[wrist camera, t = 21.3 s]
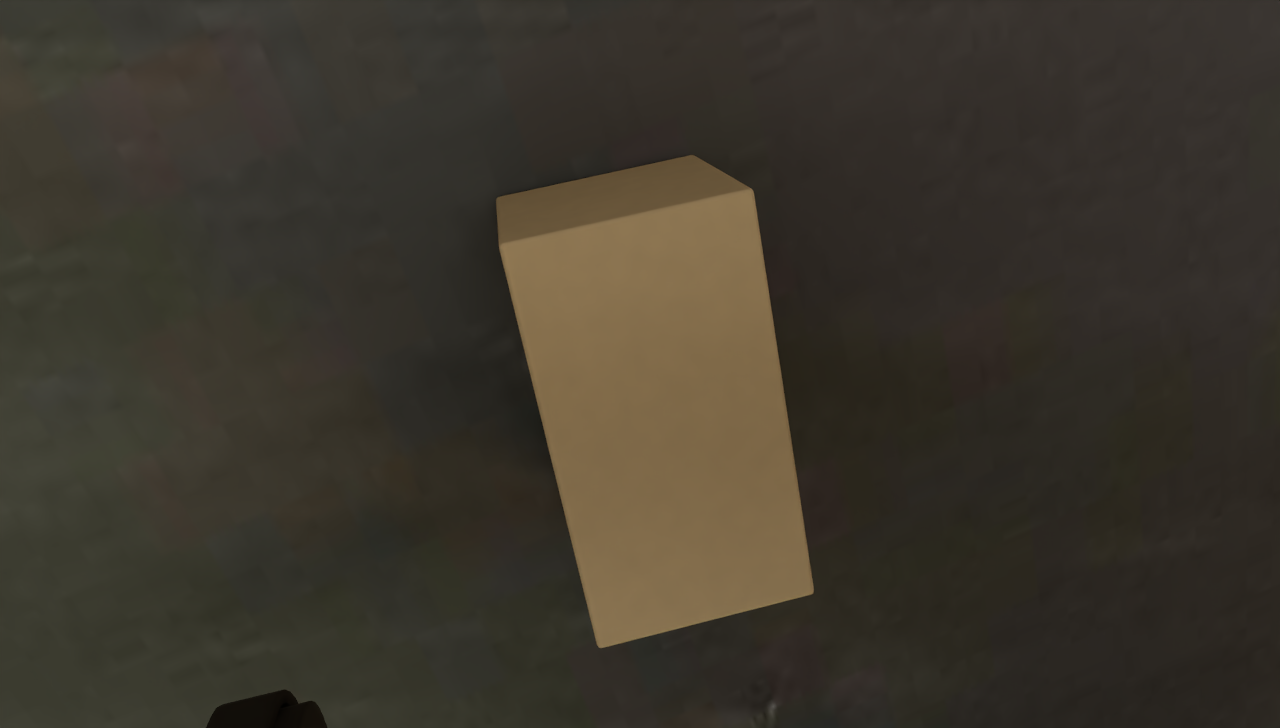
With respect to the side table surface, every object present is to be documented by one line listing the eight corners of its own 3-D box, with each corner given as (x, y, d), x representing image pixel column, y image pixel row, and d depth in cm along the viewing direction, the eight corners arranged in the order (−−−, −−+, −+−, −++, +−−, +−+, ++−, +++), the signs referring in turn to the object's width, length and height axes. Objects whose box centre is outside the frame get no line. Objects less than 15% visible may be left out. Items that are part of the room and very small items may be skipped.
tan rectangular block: (495, 197, 17) (497, 244, 13) (694, 153, 17) (754, 188, 13) (575, 527, 19) (598, 650, 15) (751, 484, 19) (815, 594, 15)
